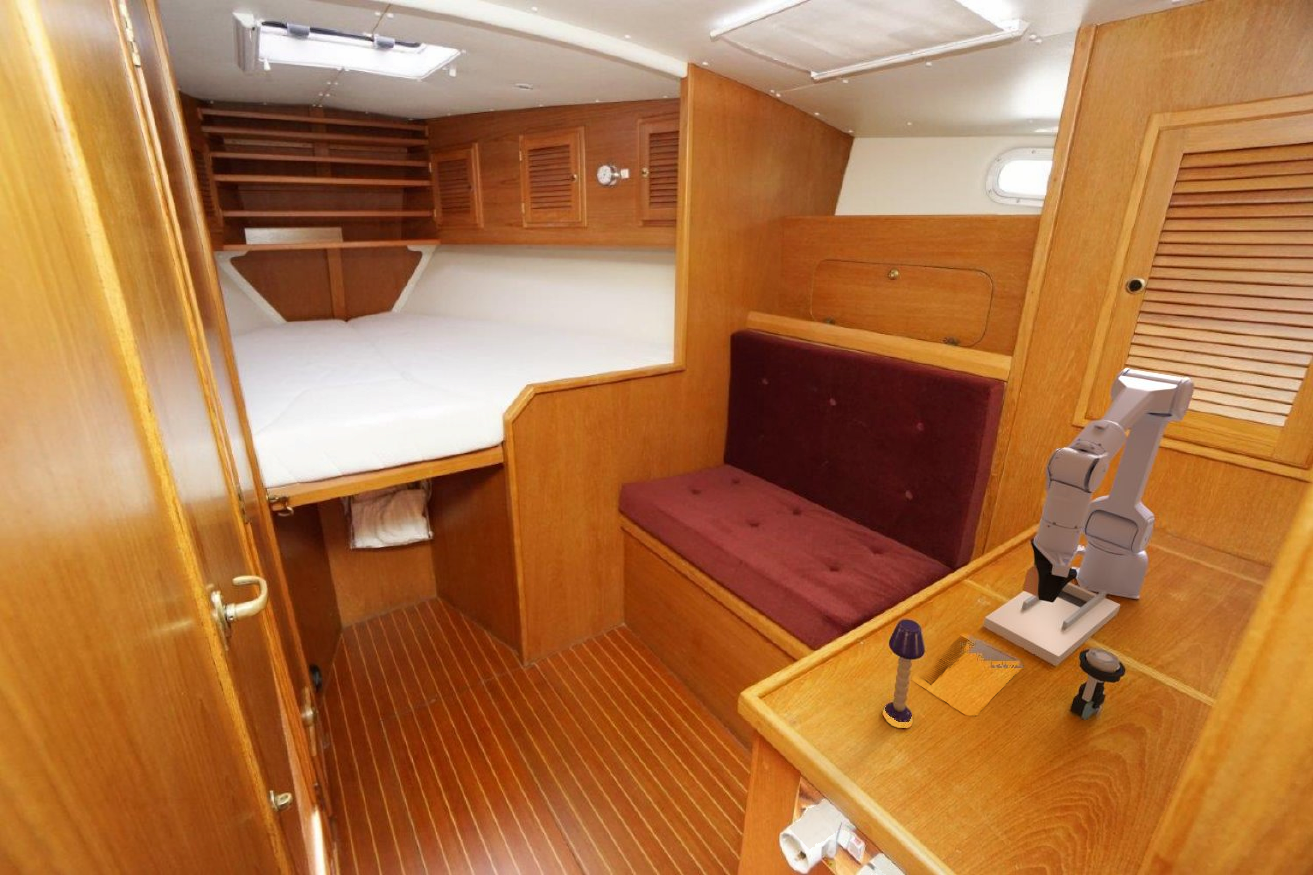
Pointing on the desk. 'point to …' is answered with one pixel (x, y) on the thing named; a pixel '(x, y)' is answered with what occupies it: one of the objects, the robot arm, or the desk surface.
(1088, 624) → the trough
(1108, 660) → the push button
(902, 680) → the toy lamp
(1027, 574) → the block
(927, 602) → the desk surface
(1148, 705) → the desk surface
